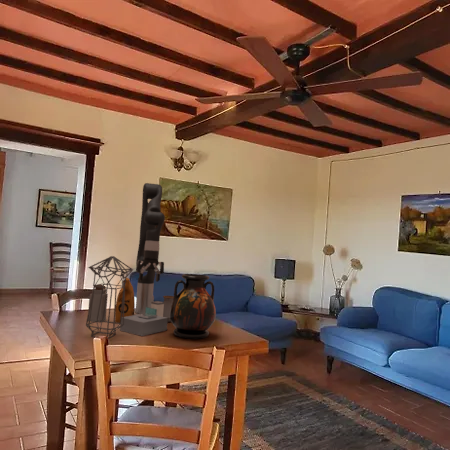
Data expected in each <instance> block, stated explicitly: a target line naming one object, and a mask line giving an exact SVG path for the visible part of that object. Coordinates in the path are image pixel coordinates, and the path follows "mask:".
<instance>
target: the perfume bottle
mask: <svg viewBox="0 0 450 450" xmlns="http://www.w3.org/2000/svg"><path fill="white" fill-rule="evenodd" d="M96 286H100V287H95V291H94V298H93V304H92V311H91V318H90V321H91V322H94V321H96V320H97V315H98V309H99V304H100V298H101V292H102V288H101V287H103V284H101V285H97V284H96ZM92 292H93V289H91V293H90V294H89V298H88V307H89V306H90V302H91V297H92ZM105 295H106V288H103V294H102V299H101V305H100V310H99V316H98V321H102V318H103V310H104V303H105ZM108 295H109V294H108V293H107V297H106V304H105V312H104V319H103V321H107V308H108ZM90 309H91V308H90ZM87 311H89V308H88V310H87ZM89 316H90V313H89ZM88 322H89V318H88ZM91 322H90V323H91Z"/></svg>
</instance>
